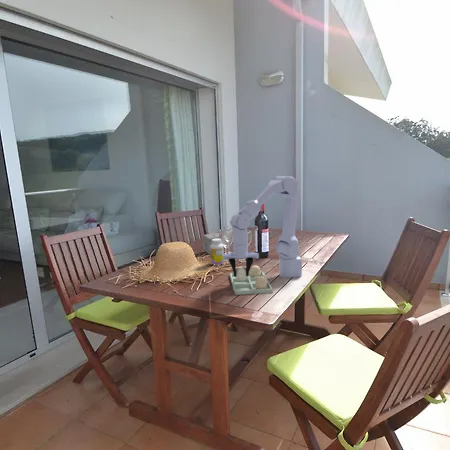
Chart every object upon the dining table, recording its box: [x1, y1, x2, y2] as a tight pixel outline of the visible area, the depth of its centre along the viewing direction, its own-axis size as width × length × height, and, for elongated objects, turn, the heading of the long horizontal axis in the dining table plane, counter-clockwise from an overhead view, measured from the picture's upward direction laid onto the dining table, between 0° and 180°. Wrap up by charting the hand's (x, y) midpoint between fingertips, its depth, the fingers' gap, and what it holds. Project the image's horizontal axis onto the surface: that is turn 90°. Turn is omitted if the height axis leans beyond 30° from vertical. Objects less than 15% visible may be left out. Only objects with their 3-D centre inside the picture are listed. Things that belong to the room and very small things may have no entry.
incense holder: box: [202, 232, 220, 255], centre depth 189 cm, size 10×8×10 cm
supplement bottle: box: [209, 238, 225, 266], centre depth 165 cm, size 7×7×13 cm
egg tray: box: [229, 270, 274, 296], centre depth 135 cm, size 15×22×2 cm
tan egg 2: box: [255, 276, 268, 289], centre depth 128 cm, size 4×4×5 cm
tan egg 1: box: [249, 264, 262, 277], centre depth 142 cm, size 4×4×5 cm
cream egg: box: [236, 265, 246, 281], centre depth 134 cm, size 4×4×5 cm
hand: (241, 275), depth 134 cm, fingers closed on cream egg, 4 cm apart
